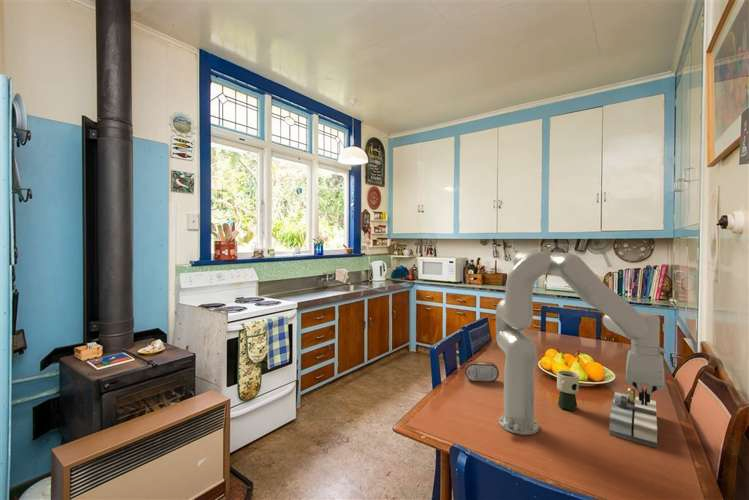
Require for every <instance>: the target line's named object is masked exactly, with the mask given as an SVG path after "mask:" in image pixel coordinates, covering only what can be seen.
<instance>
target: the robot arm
mask: <svg viewBox="0 0 749 500" xmlns="http://www.w3.org/2000/svg"><path fill="white" fill-rule="evenodd" d="M512 263H513V266H514V267H513V268H511V270H510V272H509V274H508V275H507V278H506V281H505V293H504V294H505V295H504V298H503V299H501V300H499V302H498V303H497V306H496V309H495V338H496V339H495V341H496V343H497V346H498V347H499V348H500V350H501V351H502V352H503V353H504V354H505V362H504V368H503V414H501V415H500V416H499V418H498V423H499V425H500V427H501V428H502V429H504V430H505V431H508V432H510V433H513V434H514V435H515V434H516V435H520V436H530V435H534V434H537V433H538V432H539V430H540V426H539V422H538V421H537V420H536V419H535V367H536V362H537V355H538V351H537V346H536V344H535V342H534V340H533V339H532V338H531V337H529V336H528V335H527V334H526V333H525V332H523V331H525V330H527V329H529V328H530V327H531V326H532V323H533V317H534V314H533V313H534V312H533V304H534V303H533V295H534V294H533V293H534V292H533V291H534V286H535V284H536V282H537V281H538V279H540V278H541V277H542V276H556V277H558V278H559V277H560V278H561V279H562V280H563V281H564V282H565V283H566V285H568V286H569V287H570V288H571V290H572V291H573V292H574V293H575V294H576V295H577V296H578V298H580V300H582V301H583V302H584V303H586V304H587V305H589V306H591V307H592V308H594V309H596V310H597V311H600V312H601V313H602V314H604V315H602V316H603V317H602V324H603V326H604V327H605V328H606V329H607V330H608V331H610V332H612V333H614V334H617V335H620V336H623V337H624V338H627V339H629V340H630V349H628V351H627V356H626V363H625V365H626V366H625V378H624V382H625V383H626V384H629V385H630V386H631V385H632V386H633V387H634V388H635V389H636V390H637V392H638V397H639V401H641V405H644V398H645V405H646V406H647V402H648V403H650V400H651V394H652V393H654V392H656V391H665V390H666V386H665V364H664V357H663V355H662V354H663V353H664V354H665V353H666V349H665V348H663V347H661V346H660V338H661V337H660V336H661V334H660V331H661V330H660V328H661V327H660V326H661V324H660V323H661V322H660V321H661V319H660V316H659V314H657V313H654V312H649V311H638V310H637V309H636V308H635V307H633V305H631V304H630V303H629V302H628V301H627V300H626V299H625V298H623V297H622V296H620V295H619V294H618V293H617V292H616V291H614V290H613V289H612V288H610V287H609V286H607V285H606V284H605V282H603V281H602V280H601V278H599V276H598V275H597V274H596V273H595V272H594V271H593V270H592V269H591V268H590V267H589V266H588V265H587V264H586V263H585V261H584V260H583V259H582V258H581V257H580V256H578V255H577V254H574V253H570V252H555V251H541V250H534V249H533V250H531V249H523V250H520V251H518V252H516V254H515V255H514V257H513V261H512ZM643 385H646V389H645V390H644V388H643Z"/></svg>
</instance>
